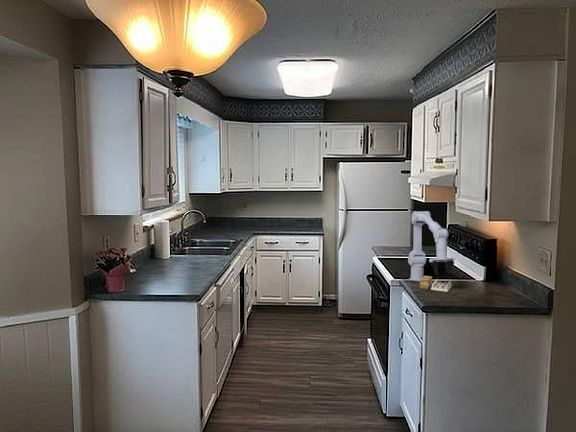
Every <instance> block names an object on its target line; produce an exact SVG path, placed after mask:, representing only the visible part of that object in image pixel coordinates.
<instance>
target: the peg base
mask: <svg viewBox="0 0 576 432" xmlns="http://www.w3.org/2000/svg"><path fill="white" fill-rule="evenodd" d="M452 287H453V284H452V280H449V281H448V282H446V281H444V283H442V281H439V279H438V278H437V279H435V281H433V282H432V285H431V286H430V290H431V291H437V292H438V291H439V292H440V291H441V292H446V293H447V292H449V290H450V289H451V288H452Z"/></svg>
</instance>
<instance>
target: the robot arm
mask: <svg viewBox="0 0 576 432" xmlns="http://www.w3.org/2000/svg"><path fill="white" fill-rule="evenodd" d="M431 216H432V215H431V212H430V211H429V210H428V211H427V210H426V211H425V210H424V211H421V210H420V211H416V210H414V211H413V212H412V213H411V224H412V225H413V226H412V229H413V230H412V232H413V233H412V235H413V236H412V237H413V244H412V245H413V246H412V247H413V248H412V249H413V250H411V251H410V252H409V253H408V258H407V262H408V264H409V266H410V277H409V278H408V281H416V282H420V279H421V278H423V277H424V266H426V265H425V264H427V263H426V262H427V258H426V252H424V251H423V250H422V246H423V245H422V240H423V238H422V237H423V235H422V234H423V233H422V231H423V230H422V229H423V228H422V227H423V225H425V224H426V225H428V230H430V231H431V233H432V234H433V238H434V242H435V250H436V258H435V257H433V258H429V260H428V261H429V263H430V265H431V267H432V269H433V271H434V275H436V276H439V263H441V262H443V263H445V265H446V268H447V269H446V272H447V273H446V274H447V275H451V274H452V269H453V267H454V265H455V261H456V258H455V257H448V247H447V245H448V244H447V242H448V241H447V239H448V237H449V231H448V229H447V228H443V227H442V226H441V225H440V224H439V223H438V222H437V221H434V220H433V218H432V217H431Z"/></svg>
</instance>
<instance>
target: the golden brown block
mask: <svg viewBox="0 0 576 432" xmlns="http://www.w3.org/2000/svg"><path fill="white" fill-rule="evenodd" d="M432 284H433V276H432V275H423V278H421V279H420V281H419V289H426V290H428V289H429V288H431V287H432Z"/></svg>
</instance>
